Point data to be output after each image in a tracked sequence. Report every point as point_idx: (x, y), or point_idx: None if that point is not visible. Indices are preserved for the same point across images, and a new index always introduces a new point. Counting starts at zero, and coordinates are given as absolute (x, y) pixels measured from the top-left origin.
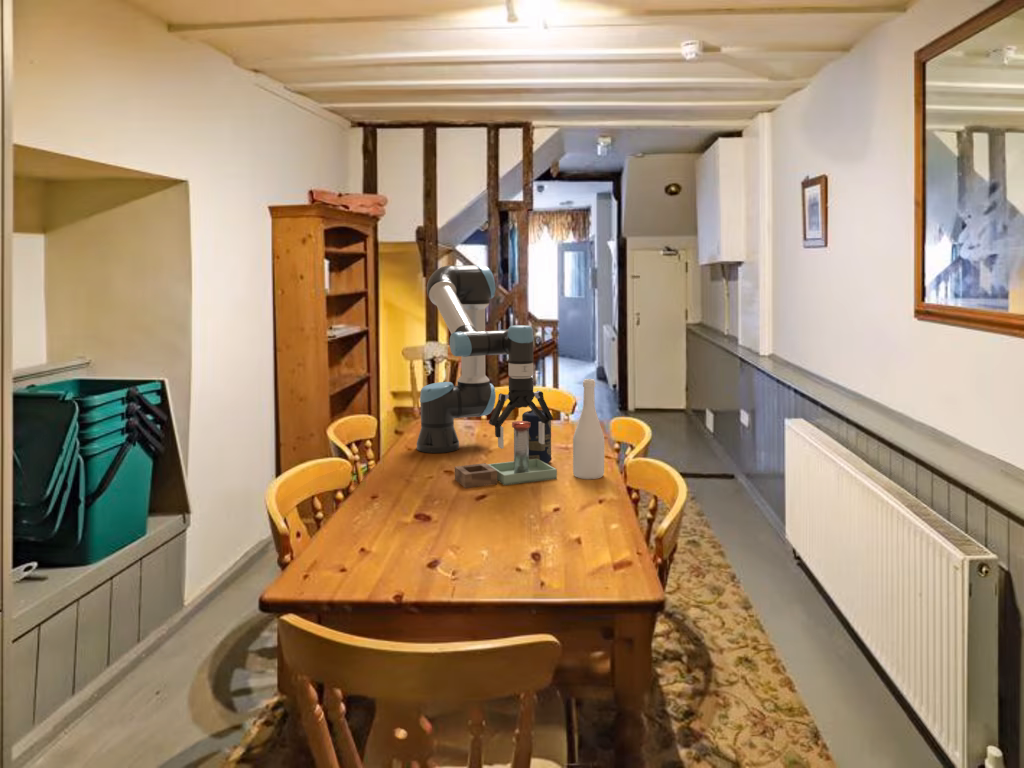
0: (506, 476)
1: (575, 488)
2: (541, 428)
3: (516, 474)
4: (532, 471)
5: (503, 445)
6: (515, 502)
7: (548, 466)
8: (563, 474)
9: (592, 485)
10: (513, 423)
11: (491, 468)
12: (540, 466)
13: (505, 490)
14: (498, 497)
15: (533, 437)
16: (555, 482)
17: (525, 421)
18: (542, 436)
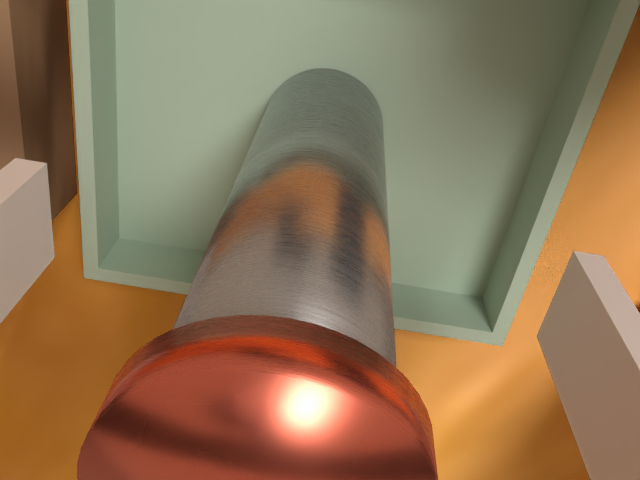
0: (105, 275)
1: (440, 467)
2: (605, 475)
3: (181, 292)
4: (449, 106)
5: (39, 274)
6: (61, 470)
7: (523, 246)
8: (611, 247)
9: (551, 475)
10: (95, 477)
11: (9, 154)
12: (569, 78)
13: (81, 318)
14: (5, 386)
15: None
16: (428, 349)
17: (402, 471)
18: (565, 403)
